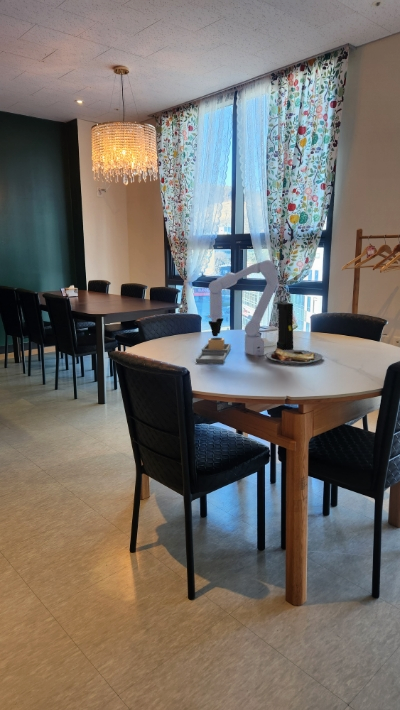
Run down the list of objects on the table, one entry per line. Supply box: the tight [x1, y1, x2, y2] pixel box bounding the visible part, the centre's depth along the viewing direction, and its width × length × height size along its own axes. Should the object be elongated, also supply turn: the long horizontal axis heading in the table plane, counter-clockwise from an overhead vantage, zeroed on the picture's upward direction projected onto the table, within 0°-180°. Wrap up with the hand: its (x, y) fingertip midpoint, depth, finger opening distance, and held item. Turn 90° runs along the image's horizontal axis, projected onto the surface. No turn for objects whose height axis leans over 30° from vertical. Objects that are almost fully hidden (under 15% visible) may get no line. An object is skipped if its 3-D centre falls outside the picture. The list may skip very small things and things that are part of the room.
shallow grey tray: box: [195, 351, 228, 365], centre depth 214 cm, size 15×12×2 cm
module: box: [207, 337, 225, 349], centre depth 228 cm, size 5×7×7 cm
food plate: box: [264, 348, 324, 365], centre depth 212 cm, size 25×23×4 cm
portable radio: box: [276, 297, 295, 350], centre depth 232 cm, size 8×6×25 cm
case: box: [201, 343, 232, 356], centre depth 228 cm, size 14×12×3 cm
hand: (216, 334), depth 227 cm, fingers open, 7 cm apart
